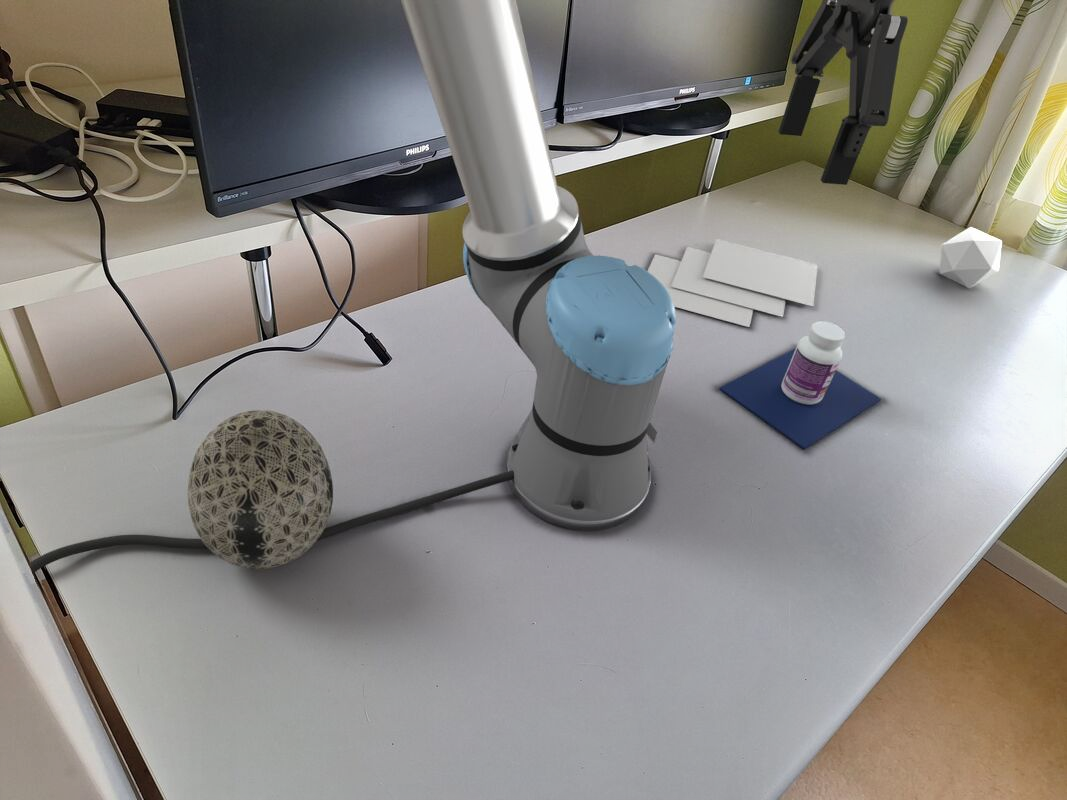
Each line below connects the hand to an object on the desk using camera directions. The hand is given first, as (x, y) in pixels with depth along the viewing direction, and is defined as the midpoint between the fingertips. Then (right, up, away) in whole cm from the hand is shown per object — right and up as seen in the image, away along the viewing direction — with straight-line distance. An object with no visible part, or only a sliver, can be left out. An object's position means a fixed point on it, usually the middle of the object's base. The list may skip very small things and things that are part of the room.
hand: (810, 157), depth 87 cm
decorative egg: (-56, -41, -17) cm, 71 cm away
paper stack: (-1, -10, +30) cm, 32 cm away
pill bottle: (+2, -27, +10) cm, 29 cm away
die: (+39, -8, +40) cm, 56 cm away
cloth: (+2, -27, +10) cm, 29 cm away
